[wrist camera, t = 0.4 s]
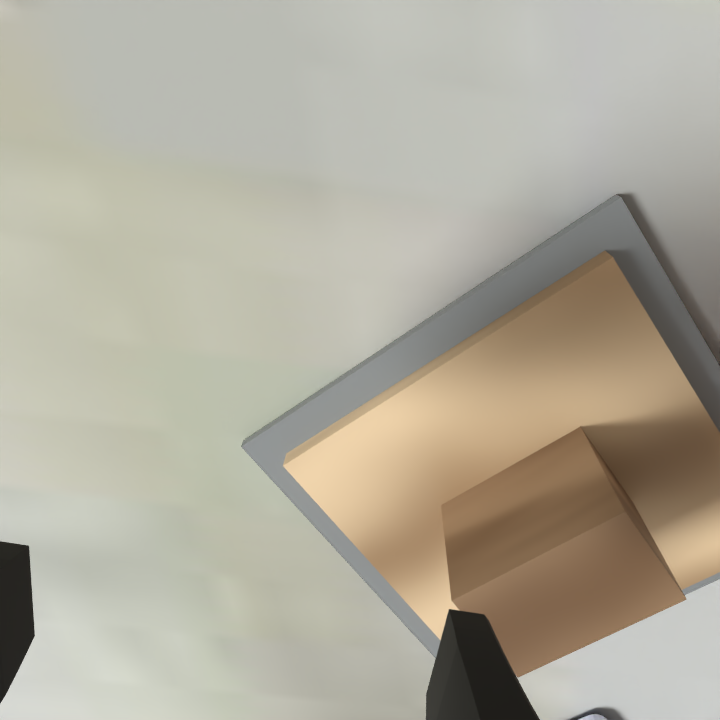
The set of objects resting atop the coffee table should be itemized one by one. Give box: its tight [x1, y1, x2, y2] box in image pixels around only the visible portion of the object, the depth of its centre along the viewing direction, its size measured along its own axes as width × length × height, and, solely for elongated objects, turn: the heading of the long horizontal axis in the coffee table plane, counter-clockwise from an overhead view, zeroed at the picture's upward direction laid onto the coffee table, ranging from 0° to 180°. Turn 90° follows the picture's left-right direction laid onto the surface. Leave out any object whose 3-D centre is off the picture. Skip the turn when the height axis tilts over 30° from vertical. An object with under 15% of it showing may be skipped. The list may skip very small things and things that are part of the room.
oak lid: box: [283, 251, 720, 677], centre depth 19 cm, size 11×11×5 cm
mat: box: [241, 194, 720, 658], centre depth 21 cm, size 13×13×1 cm
